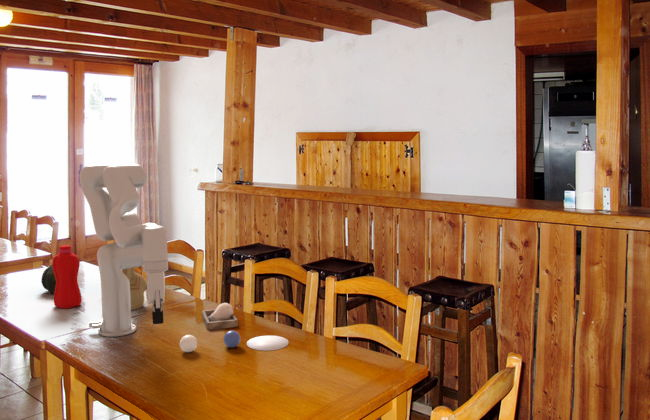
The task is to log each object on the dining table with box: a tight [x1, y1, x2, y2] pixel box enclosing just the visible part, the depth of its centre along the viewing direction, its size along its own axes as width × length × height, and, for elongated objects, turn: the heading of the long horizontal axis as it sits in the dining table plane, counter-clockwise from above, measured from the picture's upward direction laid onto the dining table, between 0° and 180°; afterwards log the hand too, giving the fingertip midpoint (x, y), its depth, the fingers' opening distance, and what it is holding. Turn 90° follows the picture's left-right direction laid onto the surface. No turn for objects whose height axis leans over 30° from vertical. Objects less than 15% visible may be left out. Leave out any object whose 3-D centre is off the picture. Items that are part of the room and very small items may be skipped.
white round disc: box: [246, 335, 290, 352], centre depth 198 cm, size 14×14×1 cm
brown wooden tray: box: [201, 308, 239, 331], centre depth 220 cm, size 11×16×2 cm
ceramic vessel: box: [122, 268, 147, 311], centre depth 237 cm, size 17×20×25 cm
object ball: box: [223, 330, 241, 348], centre depth 194 cm, size 6×6×6 cm
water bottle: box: [51, 244, 82, 310], centre depth 239 cm, size 9×11×25 cm
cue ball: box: [179, 334, 198, 353], centre depth 189 cm, size 6×6×6 cm
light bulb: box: [207, 302, 234, 322], centre depth 220 cm, size 7×7×11 cm
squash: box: [41, 264, 56, 295], centre depth 262 cm, size 14×15×15 cm
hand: (158, 323), depth 185 cm, fingers closed
